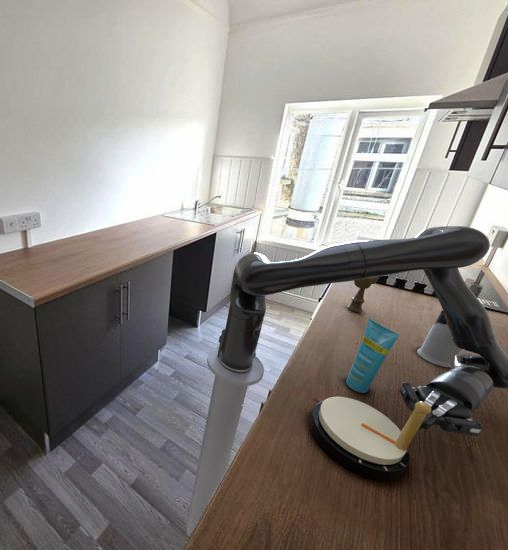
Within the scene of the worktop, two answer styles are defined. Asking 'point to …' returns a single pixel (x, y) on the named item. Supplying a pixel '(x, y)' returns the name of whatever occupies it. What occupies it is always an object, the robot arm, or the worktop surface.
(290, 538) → the worktop surface
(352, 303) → the kendama
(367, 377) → the tube
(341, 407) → the wheel
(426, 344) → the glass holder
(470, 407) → the robot arm
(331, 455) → the dial base
